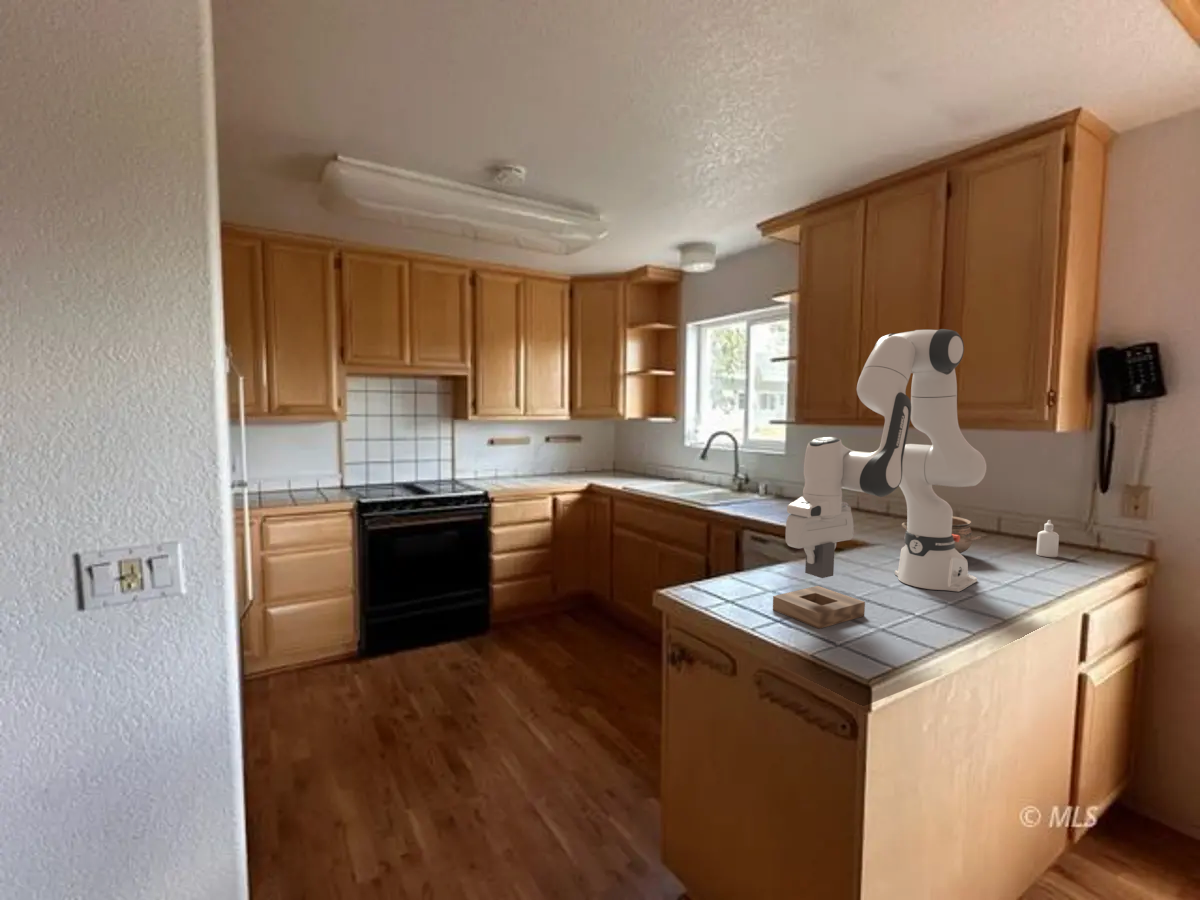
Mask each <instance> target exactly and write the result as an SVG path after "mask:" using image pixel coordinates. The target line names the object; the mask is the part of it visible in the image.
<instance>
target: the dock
mask: <svg viewBox="0 0 1200 900" xmlns="http://www.w3.org/2000/svg"><path fill="white" fill-rule="evenodd" d="M865 605H866V602H865V601H863V600H861V599H857V598H855V597H851V596H849V595H846V594H842V593H840V592H837V591H834V590H831V589H828V588H825V587H822V586H820V585H815V586H811V587H807V588H803V589H798V590H794V591H789V592H785V593H781V594H777V595H773V596H772V610H773V611H774V612H777V613H779V614H782V615H784V616H787V617H789V618H792V619H794V620H796V621H799V622H801V623H804V624H806V625H808V626H811V627H813V628H815V629H819V630H820V629H823V628H827V627H830V626H834V625H838V624H842V623H844V622H849V621H852V620H855V619H859V618H862V617H865V610H866V609H865V607H866V606H865Z"/></svg>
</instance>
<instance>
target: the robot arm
mask: <svg viewBox="0 0 1200 900" xmlns="http://www.w3.org/2000/svg"><path fill="white" fill-rule="evenodd" d="M964 352H965V344H964V340H963V338H962V336H961V335H960V334H959V333H958V331H955V330H952V329H945V328H940V329H915V330H911V331H904V332H899V333H897V332H896V333H893V332H892V333H889V334H886V335H882V336H881V337H880V338H879V339H878V340H877V341H876V342H875V345H874V347H873V349H872V351H871V352H870V354H869V356H868V358H867V359H866V362H865V363H864V366H863V368H862V370H861V373H860V375H859V377H858V381H857V385H856V395H857V396H858V398H859V400H860V402H861V403H862V404H863V405H864V406H865V407H867V408H868V409H870V411H871V410H872V412H875V413H877V414H878V415H881V416H883V417H884V425H883V430H882V434H881V439H880V444H879V447H878V448H877V449H876V450H875V451H873V452H869V451H857V450H853V449H851V448H849V447H847V446H845V445H844V444H843V442H842V439H841V438H839V437H835V436H823V437H816V438H813V439H811V440H809V442H808V443H807V444H806V445H807V446H806V449H805V454H804V461H803V477H804V485H803V486H804V487H803V489H802V496H800V497H798V498H797V499H795V500H794V501H792V502H789V504H787V508H786V511H787V512H786V513H788V514H789V515H788V517H787V519H786V523H785V543H786V544H787V546H788V547H791V548H795V549H803V551H804V552H805V556H806V555H807V562H808V563H810V564H814V563H817V556H815V555H814V552H813V550H815V546H816V545H820V544H825V543H831V542H832V543H835V549H834V551H835V550H836V547H837V543H838V542H844V541H850V540H852V539H853V537H854V519H853V513H852V507H851V506H850V505H849V503H847V502H845V501H843V491H842V489H844V490H849V491H855V492H859V493H860V492H861V493H865V494H868V495H872V496H874V497H876V496H877V497H880V498H883V497H887V496H888V495H890V494H892V493H893V492H894V491H896V490H897V489H898V488H899V489H900V490H901V492H902V494H903V495H904V499H905V503H906V511H907V513H906V514H907V515H906V516H907V517H906V518H907V519H906V521H907V522H906V523H907V526H906V527H907V530H906V529H905V532H904V537H903V538H904V544H905V545H904V546H902V547H901V549H900V555H899V562H898V567H897V568H898V569H896V570H894V575H895V576H897V579H898V580H899V582H901V583H903V584H906V585H909V586H912V587H915V588H920V589H927V590H936V591H937V590H938V591H951V592H961V591H963V590H965V589H967V588H968V587H970V586H971V585H973V584H975V583H977V582H978V578H977V577H976V576H974V575H972V574H969V563H968V559H966V557H964V556H963V554H962V553H959V552H958V551H957V550H956V549H955V542H959V540H960V536H959V535H954V534H952V518H953V516H954V511H953V509H952V506H951V505H950V504H949V502H947V501H946V500H944V499H943V498H941V497H940V496H938V495H937V493H936V492H935V490H934V489H933V485H934V486H942V487H943V486H944V487H952V488H966V487H975V486H977V485H978V484H980V483H981V482H982V481H983V480H984V478H985V475H986V473H987V462H986V459H985V457H984V456H983V454H982V453H981V452H980V451H979V450H977V448H974V447H973V446H972V445H971V444H970V443H969V442H968V441H967V440H966V438H965V436H964V435H963V433H962V431H961V428H960V425H959V419H958V383H957V382H958V381H957V375H956V368H957V367H958V366H959V364H960V363H961V362H962V360H963V356H964ZM911 374H912V377H911ZM910 378H912V379H911V385H910V386H911V389H910V397H909V396H908V395H907V394H906V391H907V390H906V389H907V386H908V384H909V381H910ZM910 422H911V423H910ZM910 424H912V426H913V427H914V428H915V429H916V430H918V431H919V432H921V433H923V434H925V435H926V436H927V437H928V438H929V440H930V441H931V444H917V443H907V439H908V434H909V428H910ZM954 541H955V542H954Z"/></svg>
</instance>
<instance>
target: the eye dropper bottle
mask: <svg viewBox="0 0 1200 900" xmlns="http://www.w3.org/2000/svg"><path fill="white" fill-rule="evenodd" d="M1059 541H1060V535H1059V534H1058V532H1056V531H1054V524H1053V523H1052V520H1051V519H1048V520H1047V522H1046V523H1044V524H1043V530H1041V531H1039V532H1037V539H1036V551H1035V554H1036V555H1037V556H1039V557H1046V558H1057V557H1058V556H1059V543H1060V542H1059Z"/></svg>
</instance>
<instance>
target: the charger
mask: <svg viewBox="0 0 1200 900" xmlns="http://www.w3.org/2000/svg"><path fill="white" fill-rule="evenodd" d="M834 549H835V550H836V548H835V543H832V542H831V543H825V544H820V545H816V546H815V550H813V552H814V555H815V556H817V563H814V564H810V563H808V562H807V555H806V554H805V568H804V570H805V571H804V572H805V574H807V575H811V576H814V577H816V578H817V577H818V578H820V579H825V578H829V577H833V576H834V571H835V570H834V569H835V550H834Z"/></svg>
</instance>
